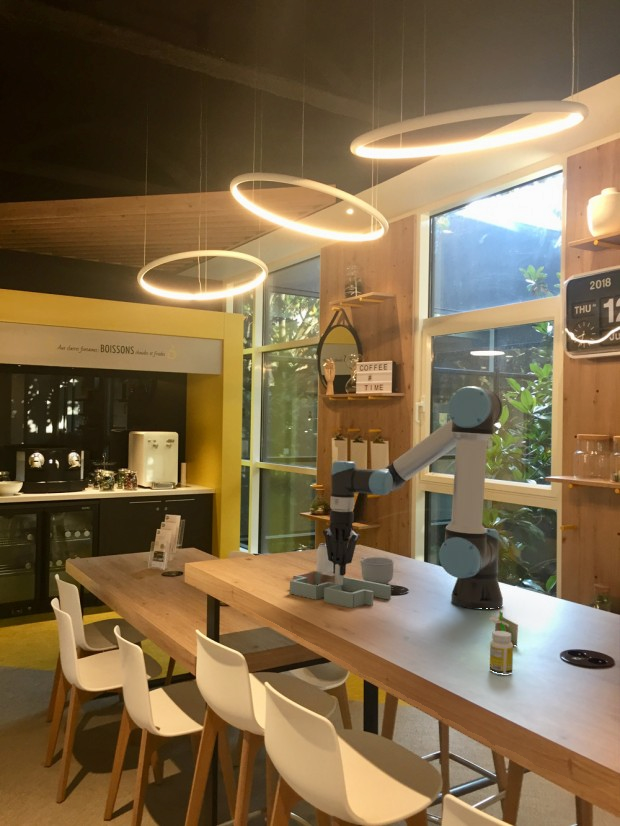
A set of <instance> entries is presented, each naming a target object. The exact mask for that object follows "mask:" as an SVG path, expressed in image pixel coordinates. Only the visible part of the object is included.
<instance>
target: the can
mask: <svg viewBox="0 0 620 826" xmlns="http://www.w3.org/2000/svg"><path fill="white" fill-rule="evenodd" d="M333 565H334V564H333V562H331V561H329V560H328V554H327V547H326V543H319V544H318V547H317V550H316V570H315V571H318V572H323V573H326V572H333Z"/></svg>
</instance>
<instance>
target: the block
mask: <svg viewBox="0 0 620 826" xmlns="http://www.w3.org/2000/svg"><path fill="white" fill-rule="evenodd" d="M326 582H331V583H335V574H334V573H333V572H326V573H322V574H320V584H322V583H326ZM341 591H343V590H342V585H341Z"/></svg>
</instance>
